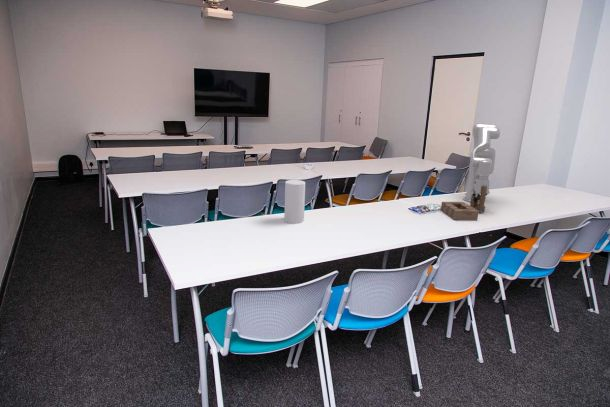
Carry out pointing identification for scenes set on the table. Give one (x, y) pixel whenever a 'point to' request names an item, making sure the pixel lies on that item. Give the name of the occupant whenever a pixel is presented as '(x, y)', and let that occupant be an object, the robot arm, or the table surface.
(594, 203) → the table surface
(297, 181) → the cylinder
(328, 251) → the table surface
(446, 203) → the end cap block
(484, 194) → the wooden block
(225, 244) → the table surface
